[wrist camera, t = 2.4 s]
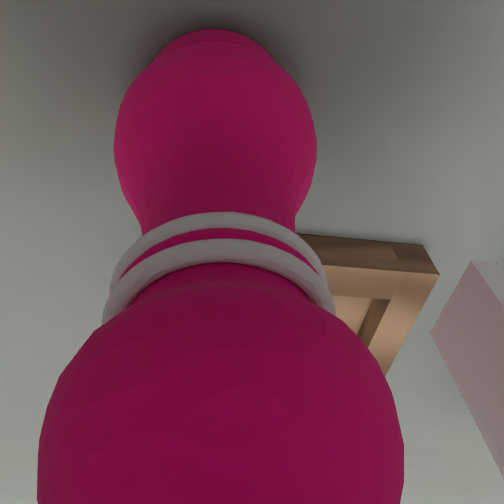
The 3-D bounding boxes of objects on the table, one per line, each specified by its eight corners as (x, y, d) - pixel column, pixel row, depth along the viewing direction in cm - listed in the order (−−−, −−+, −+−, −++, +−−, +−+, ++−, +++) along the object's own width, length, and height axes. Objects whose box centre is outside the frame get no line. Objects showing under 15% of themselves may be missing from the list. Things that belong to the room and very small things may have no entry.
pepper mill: (173, -25, 17) (-140, 808, 2) (329, 70, 20) (759, 753, 4) (107, 135, 21) (-185, 865, 5) (246, 198, 24) (317, 816, 8)
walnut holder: (152, 220, 24) (147, 250, 22) (422, 245, 26) (440, 274, 24) (145, 394, 33) (141, 426, 31) (347, 401, 35) (354, 431, 34)
